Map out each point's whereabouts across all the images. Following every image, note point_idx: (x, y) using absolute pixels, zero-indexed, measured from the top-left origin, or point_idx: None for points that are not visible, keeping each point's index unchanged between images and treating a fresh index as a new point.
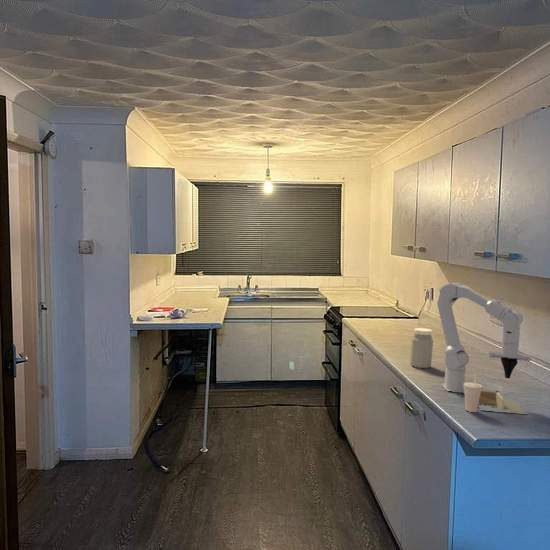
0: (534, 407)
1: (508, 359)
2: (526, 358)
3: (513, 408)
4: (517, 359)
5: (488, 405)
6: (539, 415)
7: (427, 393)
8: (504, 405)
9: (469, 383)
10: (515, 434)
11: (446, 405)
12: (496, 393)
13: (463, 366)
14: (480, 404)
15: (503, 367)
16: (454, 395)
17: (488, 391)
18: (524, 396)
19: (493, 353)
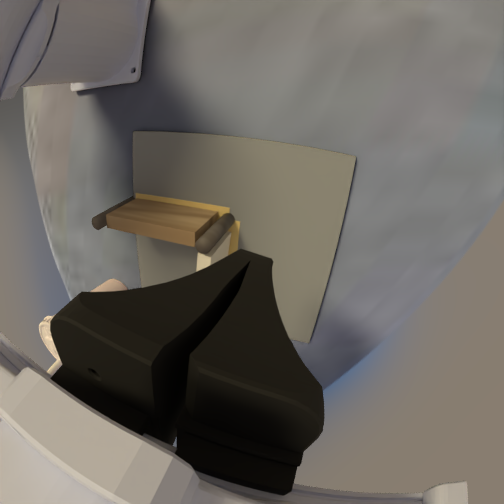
0: (408, 262)
1: (187, 390)
2: None
3: (282, 288)
4: (286, 495)
5: (181, 254)
6: (355, 343)
7: (30, 137)
8: (256, 252)
9: (50, 334)
10: None
11: (65, 247)
12: (198, 258)
13: (29, 32)
14: (152, 244)
15: (182, 279)
16: (89, 129)
17: (164, 228)
18: (462, 94)
19: None
